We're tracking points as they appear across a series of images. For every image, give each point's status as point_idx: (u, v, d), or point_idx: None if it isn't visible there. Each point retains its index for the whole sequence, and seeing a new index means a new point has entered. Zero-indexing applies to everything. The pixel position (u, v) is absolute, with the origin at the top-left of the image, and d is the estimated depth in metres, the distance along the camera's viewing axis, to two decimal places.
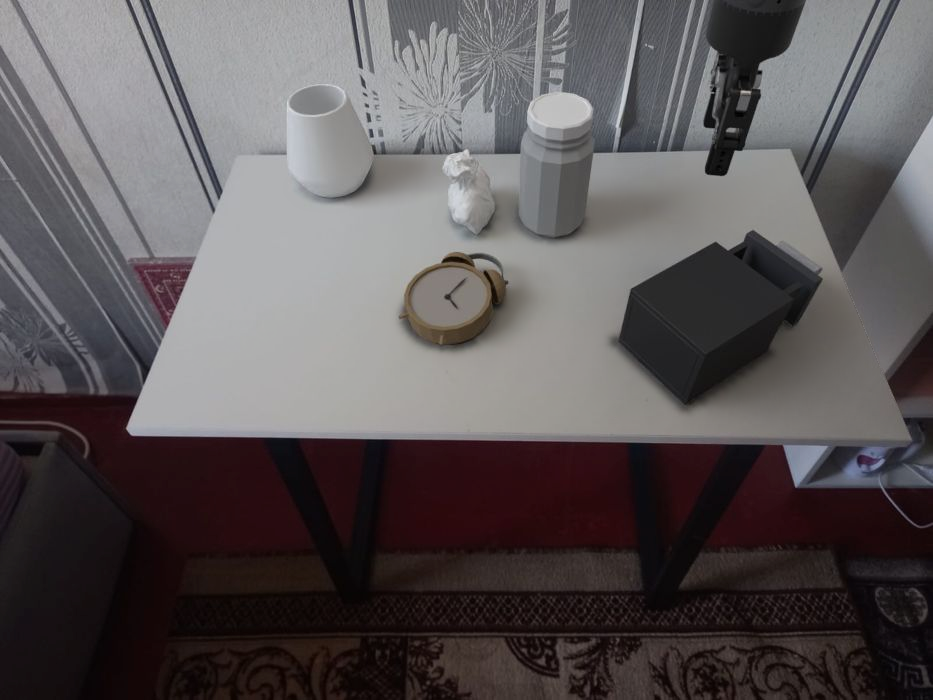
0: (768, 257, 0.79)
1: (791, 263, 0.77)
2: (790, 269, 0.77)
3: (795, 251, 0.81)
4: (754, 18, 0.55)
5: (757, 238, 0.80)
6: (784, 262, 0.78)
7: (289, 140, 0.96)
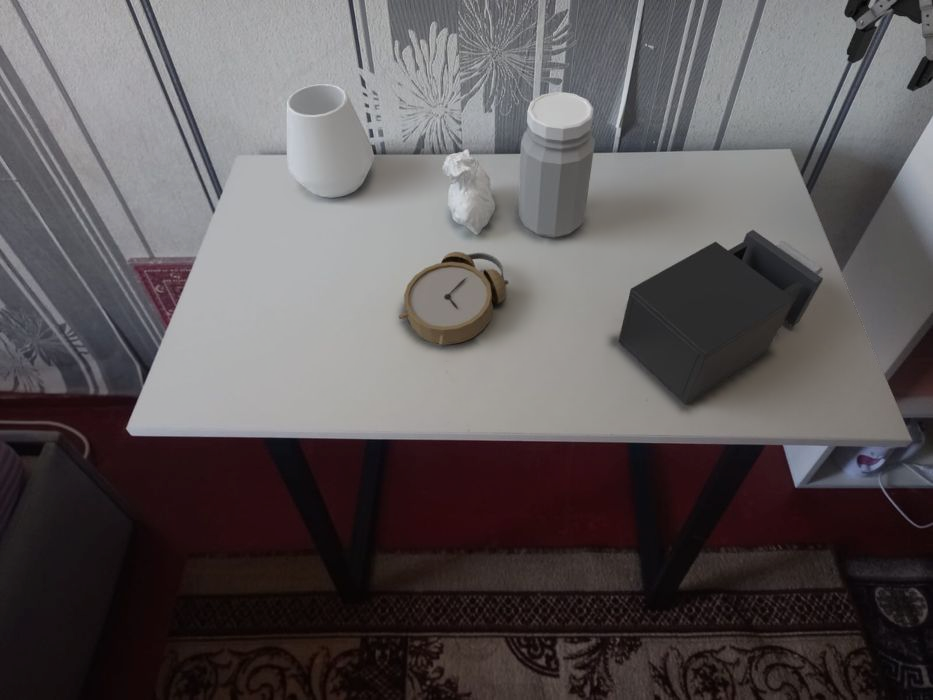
0: (768, 257, 0.79)
1: (791, 263, 0.77)
2: (790, 269, 0.77)
3: (795, 251, 0.81)
4: None
5: (757, 238, 0.80)
6: (784, 262, 0.78)
7: (289, 140, 0.96)
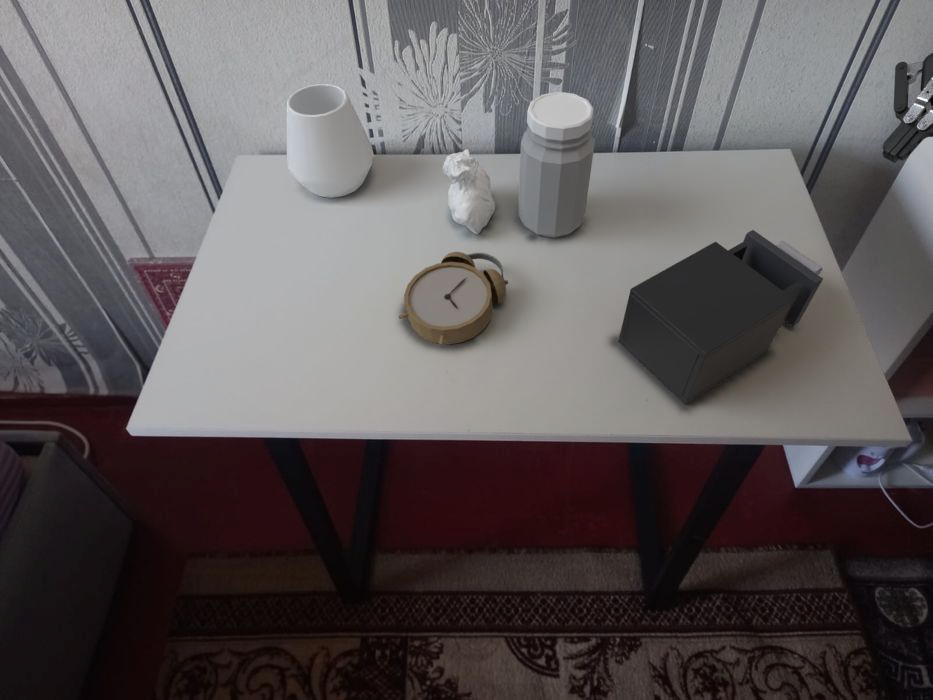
0: (768, 257, 0.79)
1: (791, 263, 0.77)
2: (790, 269, 0.77)
3: (795, 251, 0.81)
4: None
5: (757, 238, 0.80)
6: (784, 262, 0.78)
7: (289, 140, 0.96)
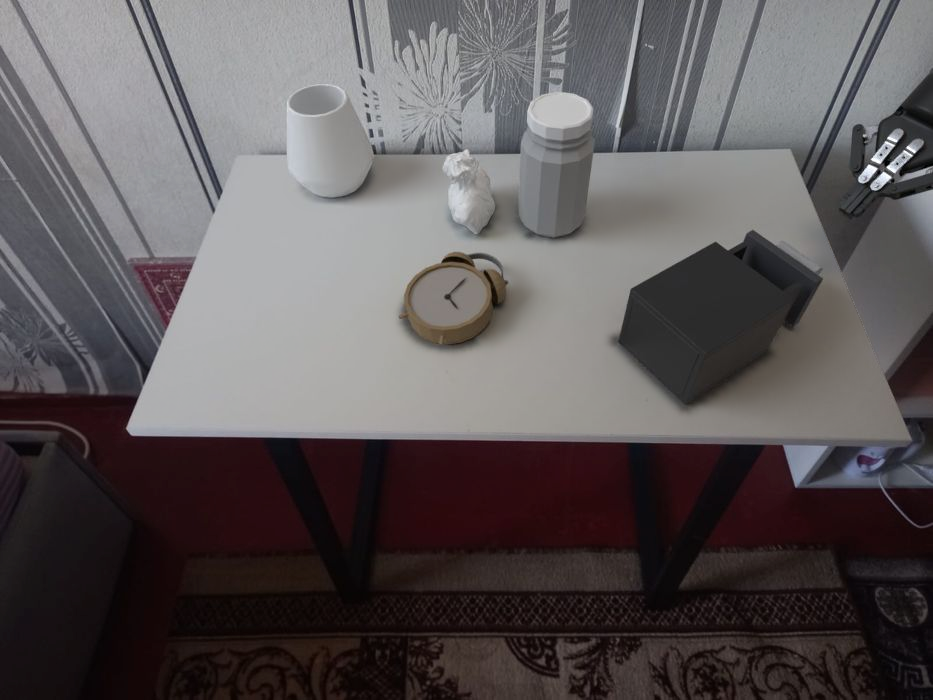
0: (768, 257, 0.79)
1: (791, 263, 0.77)
2: (790, 269, 0.77)
3: (795, 251, 0.81)
4: None
5: (757, 238, 0.80)
6: (784, 262, 0.78)
7: (289, 140, 0.96)
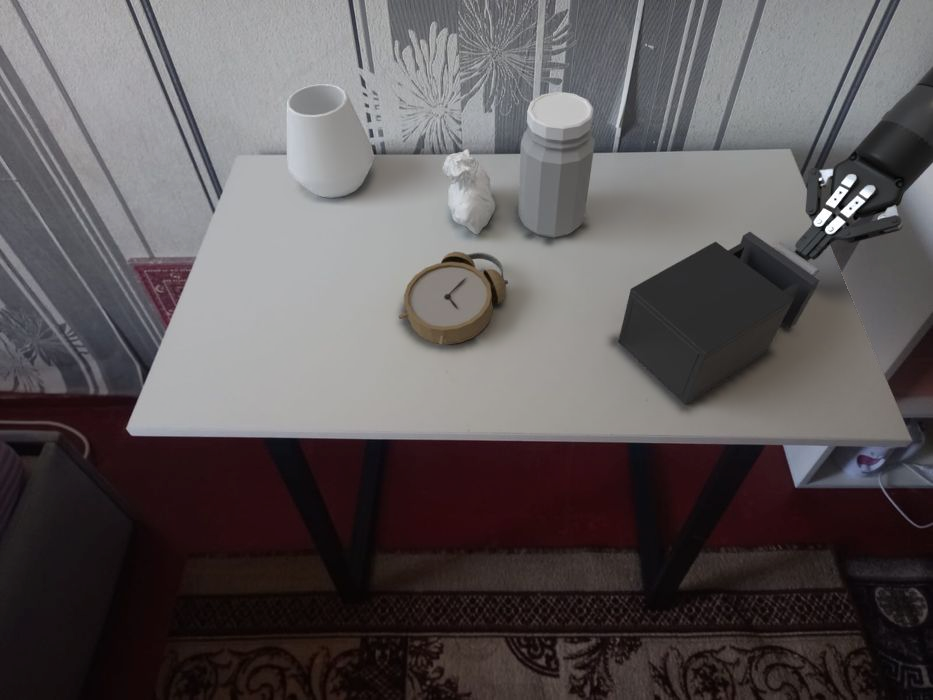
0: (765, 259, 0.79)
1: (788, 265, 0.77)
2: (787, 271, 0.77)
3: (792, 253, 0.81)
4: None
5: (754, 240, 0.80)
6: (781, 264, 0.77)
7: (289, 140, 0.96)
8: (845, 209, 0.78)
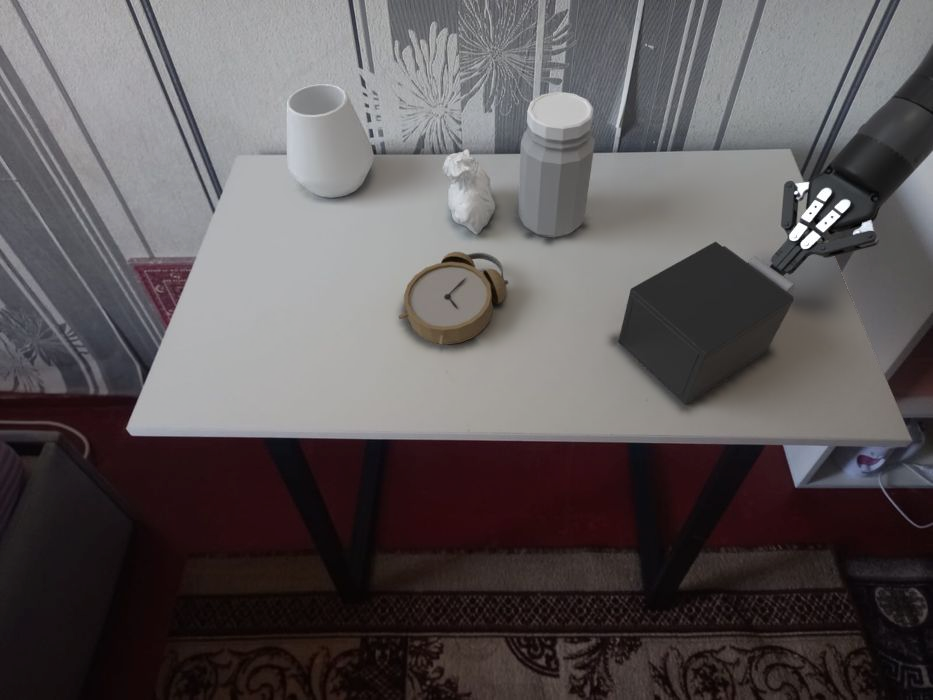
0: None
1: None
2: None
3: (767, 267, 0.80)
4: (908, 171, 0.72)
5: None
6: None
7: (289, 140, 0.96)
8: (820, 224, 0.76)
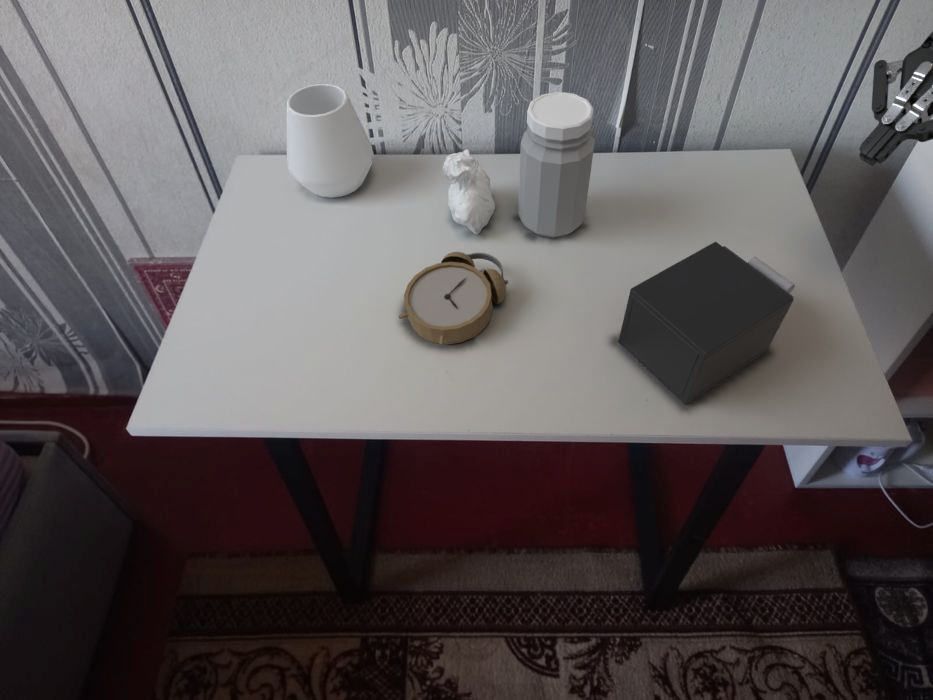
0: None
1: None
2: None
3: (767, 267, 0.80)
4: None
5: None
6: None
7: (289, 140, 0.96)
8: (919, 101, 0.69)
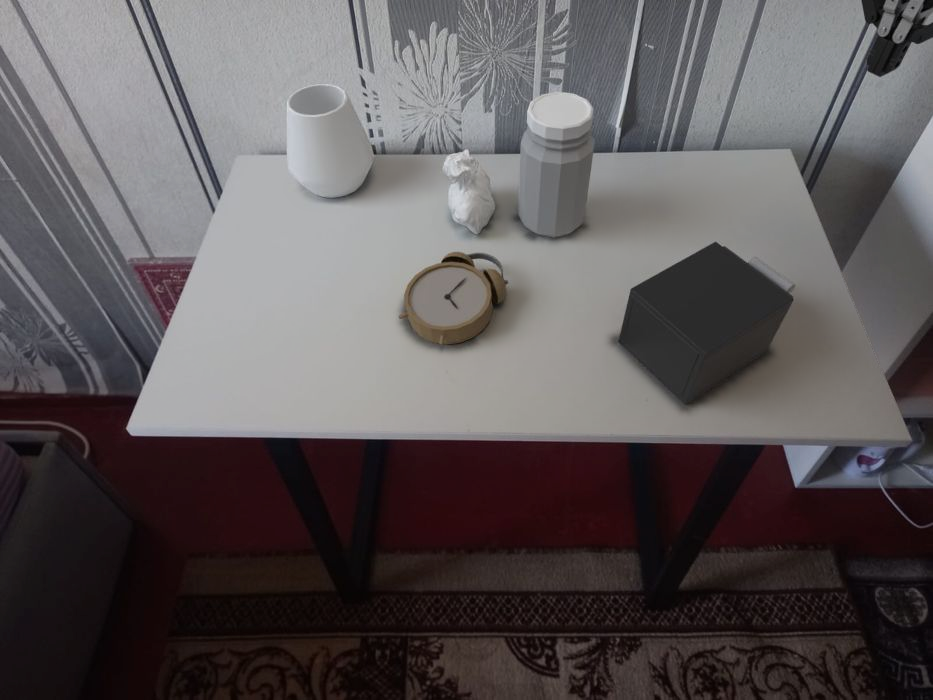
0: None
1: None
2: None
3: (767, 267, 0.80)
4: None
5: None
6: None
7: (289, 140, 0.96)
8: (907, 10, 0.62)
